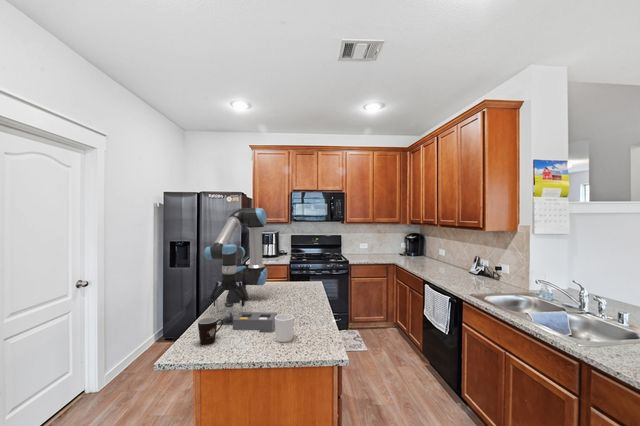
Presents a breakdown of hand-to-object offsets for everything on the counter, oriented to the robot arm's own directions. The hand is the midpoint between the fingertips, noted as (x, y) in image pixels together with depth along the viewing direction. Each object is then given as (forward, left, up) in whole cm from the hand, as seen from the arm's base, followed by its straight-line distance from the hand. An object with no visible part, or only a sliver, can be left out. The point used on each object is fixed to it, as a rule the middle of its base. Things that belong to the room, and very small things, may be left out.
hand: (228, 312), depth 157 cm
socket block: (+5, +16, -6) cm, 18 cm away
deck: (0, 0, -6) cm, 6 cm away
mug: (+18, +34, -6) cm, 39 cm away
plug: (0, 0, -5) cm, 5 cm away
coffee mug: (+23, 0, -6) cm, 24 cm away
